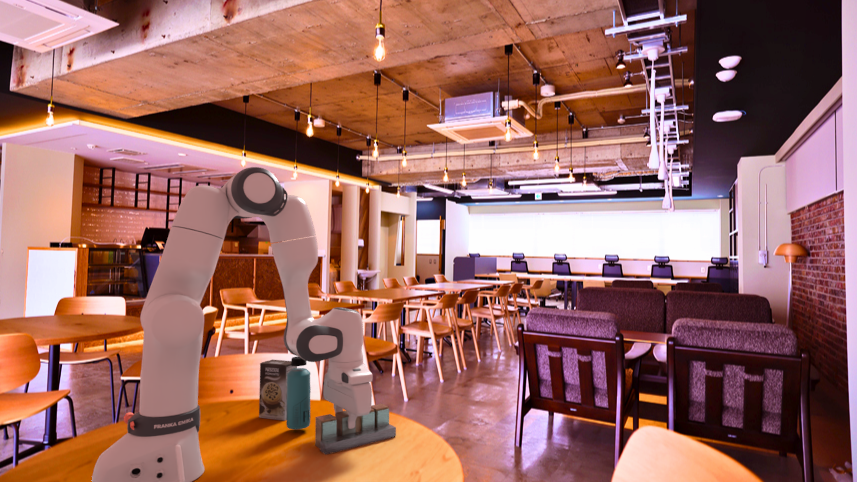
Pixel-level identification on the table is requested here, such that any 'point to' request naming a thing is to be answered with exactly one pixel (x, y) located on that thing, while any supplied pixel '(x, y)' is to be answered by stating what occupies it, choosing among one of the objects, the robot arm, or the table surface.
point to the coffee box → (274, 389)
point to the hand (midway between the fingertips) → (345, 424)
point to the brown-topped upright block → (343, 424)
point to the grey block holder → (366, 432)
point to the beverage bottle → (298, 395)
